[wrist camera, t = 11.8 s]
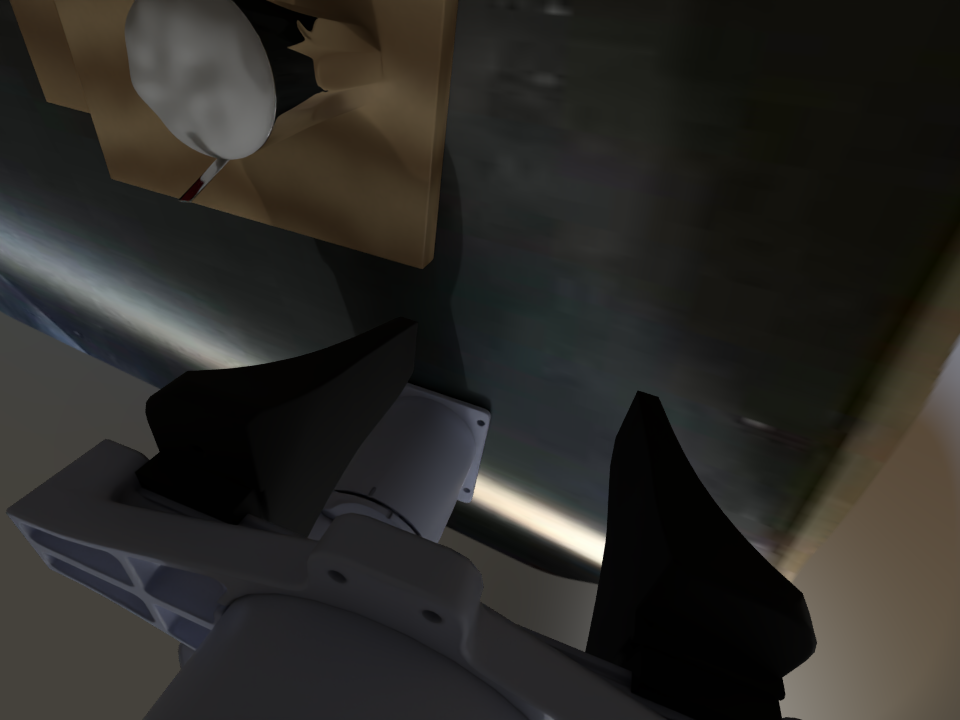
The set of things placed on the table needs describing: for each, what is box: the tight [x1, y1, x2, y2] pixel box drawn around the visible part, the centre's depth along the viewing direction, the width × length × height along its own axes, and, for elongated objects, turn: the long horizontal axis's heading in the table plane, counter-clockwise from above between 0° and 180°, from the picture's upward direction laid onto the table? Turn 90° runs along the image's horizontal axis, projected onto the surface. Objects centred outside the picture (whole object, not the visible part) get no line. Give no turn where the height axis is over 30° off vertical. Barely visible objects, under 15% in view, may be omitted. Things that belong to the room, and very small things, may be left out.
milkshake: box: [125, 0, 383, 203], centre depth 16 cm, size 5×5×10 cm
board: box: [10, 0, 458, 269], centre depth 23 cm, size 12×23×2 cm, turn 81°
